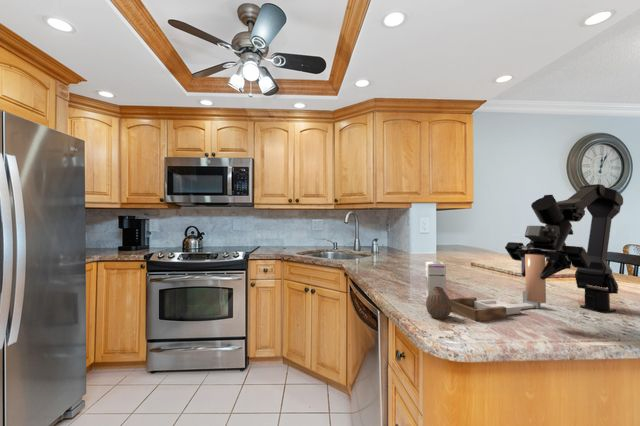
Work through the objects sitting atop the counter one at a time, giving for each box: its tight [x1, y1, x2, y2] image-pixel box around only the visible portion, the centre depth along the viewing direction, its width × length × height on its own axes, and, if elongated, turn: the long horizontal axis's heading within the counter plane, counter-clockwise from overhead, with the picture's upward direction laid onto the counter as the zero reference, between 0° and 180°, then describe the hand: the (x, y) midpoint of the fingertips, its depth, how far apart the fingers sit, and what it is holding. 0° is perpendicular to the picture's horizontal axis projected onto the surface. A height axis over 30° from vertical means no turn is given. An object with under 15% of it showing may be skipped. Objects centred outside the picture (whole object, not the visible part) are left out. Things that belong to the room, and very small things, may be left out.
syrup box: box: [424, 261, 447, 301], centre depth 96 cm, size 6×6×14 cm
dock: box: [449, 296, 507, 322], centre depth 88 cm, size 12×12×3 cm
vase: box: [425, 287, 452, 320], centre depth 85 cm, size 7×7×9 cm
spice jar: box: [524, 254, 547, 304], centre depth 78 cm, size 4×4×12 cm
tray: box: [473, 290, 541, 316], centre depth 93 cm, size 20×9×4 cm, turn 106°
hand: (532, 276), depth 77 cm, fingers closed on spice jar, 4 cm apart
